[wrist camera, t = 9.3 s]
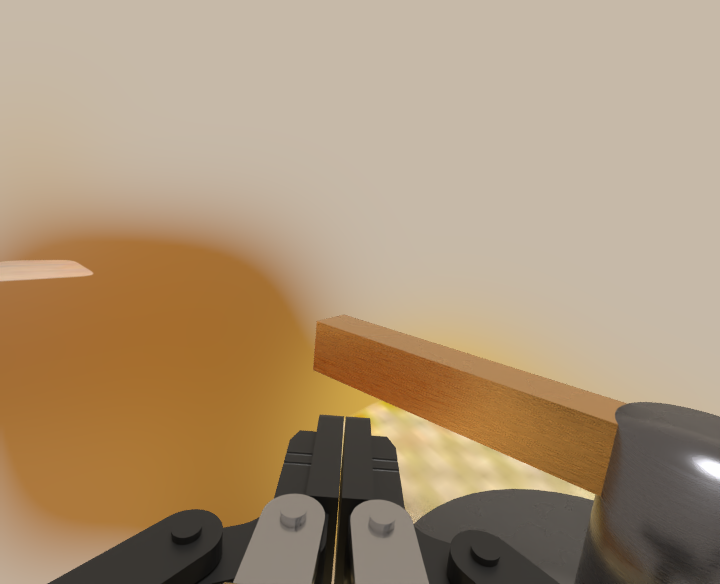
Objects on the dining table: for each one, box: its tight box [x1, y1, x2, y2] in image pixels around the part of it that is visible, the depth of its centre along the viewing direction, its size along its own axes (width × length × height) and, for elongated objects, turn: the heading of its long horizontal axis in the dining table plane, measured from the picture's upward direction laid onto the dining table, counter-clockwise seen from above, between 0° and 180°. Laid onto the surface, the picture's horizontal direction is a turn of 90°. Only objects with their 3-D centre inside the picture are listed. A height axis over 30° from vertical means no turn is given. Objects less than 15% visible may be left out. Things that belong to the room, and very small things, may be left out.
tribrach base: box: [413, 489, 594, 584], centre depth 16 cm, size 22×22×20 cm
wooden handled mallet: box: [313, 315, 720, 584], centre depth 21 cm, size 21×6×10 cm, turn 51°
